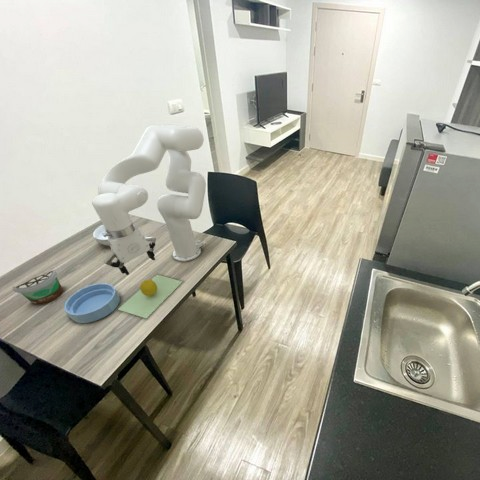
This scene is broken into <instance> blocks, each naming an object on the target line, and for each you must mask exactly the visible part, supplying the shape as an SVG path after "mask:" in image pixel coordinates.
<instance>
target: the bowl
mask: <svg viewBox="0 0 480 480" xmlns="http://www.w3.org/2000/svg"><path fill="white" fill-rule="evenodd" d="M120 302H121V297H120V295H119V293H118V291H117V290H116V288H115V286H114V285H112V284H110V283H105V282H100V283H93V284H90V285H87V286H84V287H82V288H80V289H79V290H77V291H75V292H74V293H73V294H71V295H70V296H69V297H68V299H67V300H66V301H65V302H64V306H63V309H64V311H65V313H66V314H67V316H69V318H70V320H71V321H73V322H75V323H78V324H86V323H87V324H89V323H92V322H97V321H99V320H101V319H103V318H105V317H107V316H108V315H110V314H111V313H113V312H114V311H115V310H116V308H118V306H119V305H120Z"/></svg>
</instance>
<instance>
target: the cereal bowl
mask: <svg viewBox="0 0 480 480" xmlns="http://www.w3.org/2000/svg"><path fill="white" fill-rule="evenodd" d="M105 232H106V230H105V227H104V225H103V224H102V225H99V226H98V227H96V228H95V230H94V231H93V233H92V236H93V238H94V240H95V241H96V242H97V243H98V244H100V245H103V246H108V247H110V244H109V241H108V236H106V237H104V236H103V233H105Z"/></svg>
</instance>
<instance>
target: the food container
mask: <svg viewBox="0 0 480 480" xmlns="http://www.w3.org/2000/svg"><path fill="white" fill-rule="evenodd" d="M12 290H13V292H14V293H18V294H21V295H22V296H23V297H25V298H26V300H28V301H29V302H31V303H32V304H33V305H36V306H37V305H38V306H39V305H45V304H48V303H51V302H54V301H55V300H57V299H58V298H60V296H62V294H63V293H64V288H63V286H62V284H61V282H60V281H59V279H58V272H57V271H56V270H55V269H51V271H49V272H46V273H44V274H41V275H38V276H35V277H33V278H31V279H29V280H27V281H26V282H24V283H22V284H19V285H17V286H12Z"/></svg>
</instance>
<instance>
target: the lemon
mask: <svg viewBox="0 0 480 480" xmlns="http://www.w3.org/2000/svg"><path fill="white" fill-rule="evenodd" d="M140 289H141V292H142V293H143V294H144V295H146V296H152V295H154V294H155V293H156V292H157V285H156V283H155V282H154V281H152V280H151V279H144V280H143V281H142V282H141V283H140V286H139V290H140Z"/></svg>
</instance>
